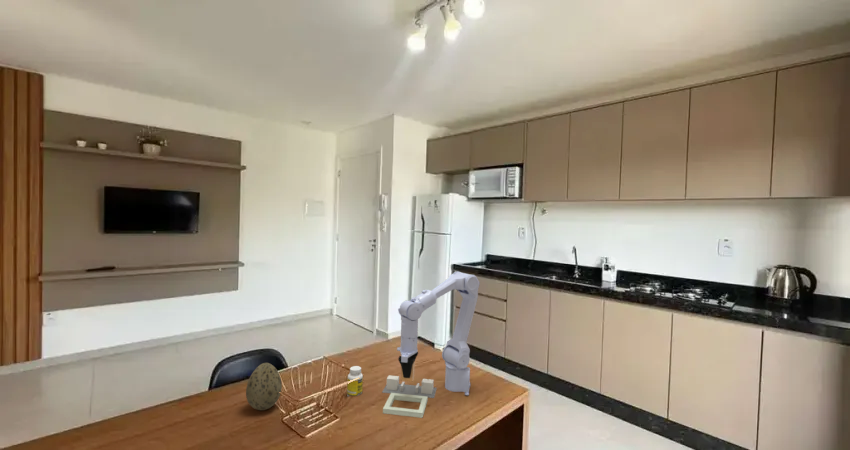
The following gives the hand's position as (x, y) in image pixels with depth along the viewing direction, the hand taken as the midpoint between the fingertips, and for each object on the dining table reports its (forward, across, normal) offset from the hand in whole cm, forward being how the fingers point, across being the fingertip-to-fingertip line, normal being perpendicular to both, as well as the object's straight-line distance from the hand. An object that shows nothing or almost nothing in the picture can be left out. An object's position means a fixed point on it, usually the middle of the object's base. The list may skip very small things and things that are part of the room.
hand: (407, 375), depth 128 cm
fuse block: (+10, -8, -1) cm, 13 cm away
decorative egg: (+10, +13, -46) cm, 49 cm away
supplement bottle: (+10, -2, -20) cm, 22 cm away
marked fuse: (+1, 0, 0) cm, 1 cm away
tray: (+10, +4, 0) cm, 11 cm away
